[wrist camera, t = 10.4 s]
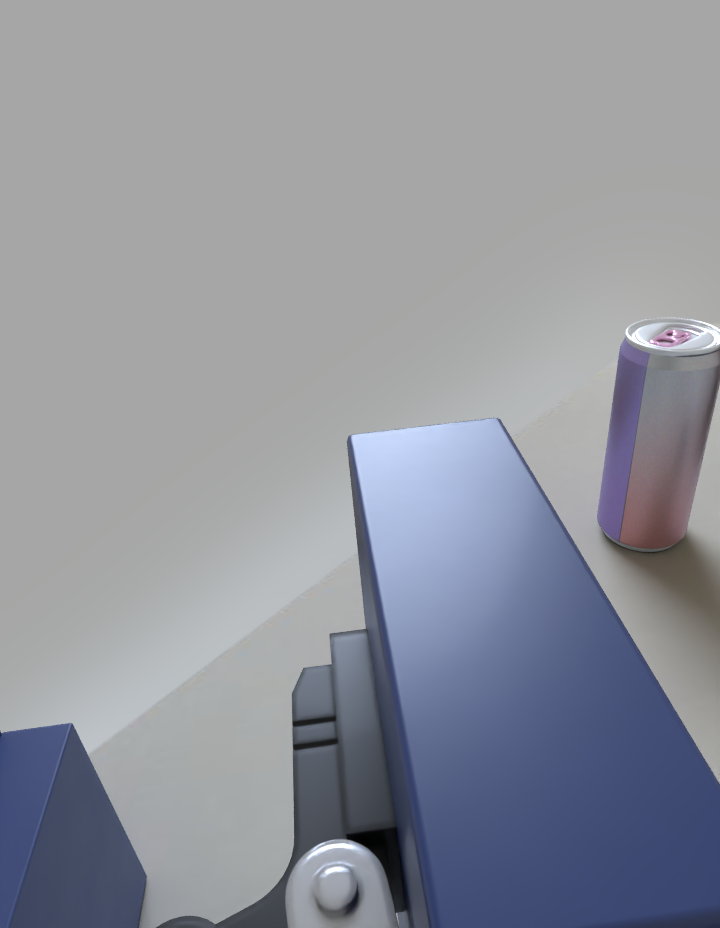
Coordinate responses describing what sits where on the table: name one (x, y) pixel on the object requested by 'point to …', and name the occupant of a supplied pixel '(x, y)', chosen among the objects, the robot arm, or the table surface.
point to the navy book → (518, 704)
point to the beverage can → (658, 431)
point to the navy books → (61, 838)
